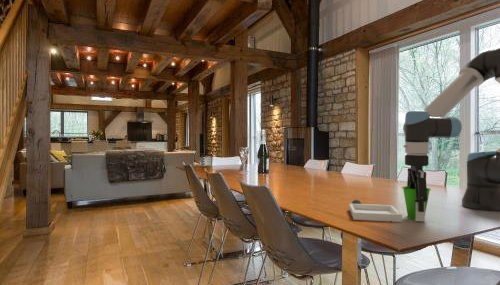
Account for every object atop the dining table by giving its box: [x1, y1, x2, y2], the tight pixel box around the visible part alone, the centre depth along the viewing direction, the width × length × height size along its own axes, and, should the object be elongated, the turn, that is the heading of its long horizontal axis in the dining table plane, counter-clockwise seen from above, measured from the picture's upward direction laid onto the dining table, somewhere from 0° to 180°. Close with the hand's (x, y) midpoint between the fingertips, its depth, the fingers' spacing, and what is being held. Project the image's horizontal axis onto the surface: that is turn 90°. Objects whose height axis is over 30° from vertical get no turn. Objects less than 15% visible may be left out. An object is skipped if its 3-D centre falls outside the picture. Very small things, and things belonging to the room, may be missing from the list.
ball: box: [351, 199, 362, 204], centre depth 133 cm, size 4×4×4 cm
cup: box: [401, 185, 431, 221], centre depth 116 cm, size 9×9×11 cm
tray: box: [348, 203, 403, 223], centre depth 121 cm, size 16×16×2 cm
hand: (416, 217), depth 116 cm, fingers closed on cup, 9 cm apart
